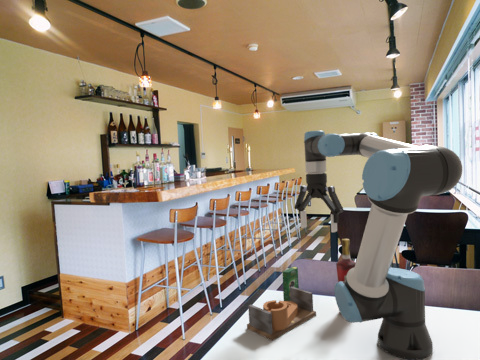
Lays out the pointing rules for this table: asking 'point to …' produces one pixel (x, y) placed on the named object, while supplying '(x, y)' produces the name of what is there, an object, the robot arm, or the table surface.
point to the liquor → (344, 262)
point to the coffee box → (289, 281)
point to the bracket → (281, 313)
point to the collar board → (263, 319)
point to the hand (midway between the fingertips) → (318, 229)
